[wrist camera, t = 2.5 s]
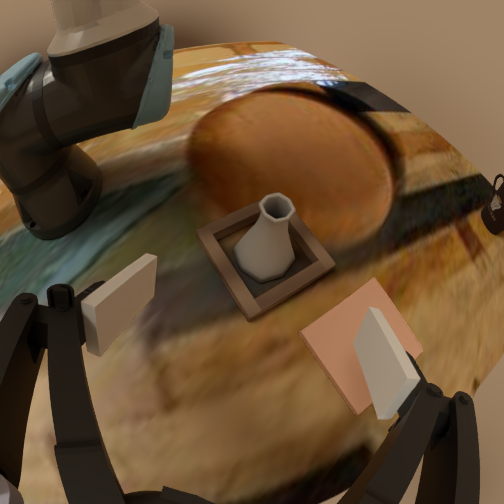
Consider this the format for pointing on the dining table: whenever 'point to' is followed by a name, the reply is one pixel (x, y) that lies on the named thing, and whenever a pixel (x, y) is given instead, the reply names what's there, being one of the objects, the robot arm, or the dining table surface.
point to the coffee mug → (495, 210)
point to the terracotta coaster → (343, 334)
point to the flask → (267, 241)
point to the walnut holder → (233, 281)
